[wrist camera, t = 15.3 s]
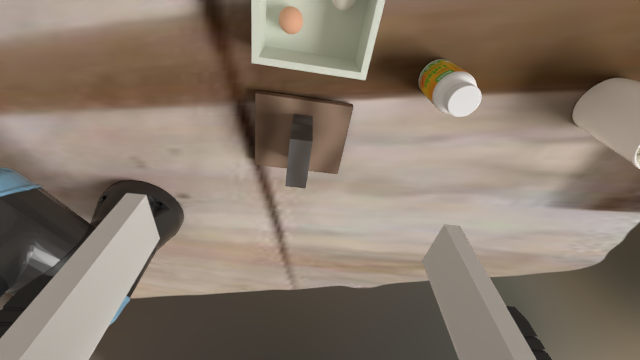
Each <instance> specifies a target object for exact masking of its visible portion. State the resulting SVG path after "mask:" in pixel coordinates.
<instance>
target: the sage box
mask: <svg viewBox="0 0 640 360" xmlns="http://www.w3.org/2000/svg"><path fill="white" fill-rule="evenodd" d="M384 3H385V0H356V1H355V3H354V5H353V6H352V7H351V8H350V9H348V10H344V11H343V10H339V9H337V8H336V7H335V6H334V5H333V2H332V0H251V12H252V63H255V64H262V65H268V66H275V67H281V68H288V69H295V70H301V71H308V72H314V73H321V74H327V75H334V76H341V77H347V78H354V79H360V80H366V76H367V72H368V68H369V64H370V60H371V56H372V51H373V47H374V43H375V39H376V35H377V31H378V27H379V23H380V19H381V15H382V11H383V7H384ZM288 6H292V7H295V8H297V9H298V10H299V11H300V12H301V14H302V17H303V25H302V28H301V29H300V31H299V32H297V33H296V34H287V33H285V32H284V31H283V30H282V29H281V27H280V24H279V15H280V13H281V11H282V10H283V9H284V8H285V7H288Z"/></svg>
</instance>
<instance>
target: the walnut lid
mask: <svg viewBox="0 0 640 360" xmlns="http://www.w3.org/2000/svg"><path fill="white" fill-rule="evenodd" d="M352 111H353V104H348V103H341V102H334V101H327V100H320V99H313V98H306V97H299V96H292V95H285V94H278V93H271V92H264V91H256V93H255V165H262V166H271V167H280V168H287V175H286V186H290V187H299V188H306V181H307V175H308V171H314V172H323V173H332V174H338V170H339V166H340V161H341V157H342V153H343V149H344V144H345V140H346V136H347V132H348V127H349V123H350V119H351V115H352Z"/></svg>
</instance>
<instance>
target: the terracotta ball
mask: <svg viewBox="0 0 640 360" xmlns="http://www.w3.org/2000/svg"><path fill="white" fill-rule="evenodd" d="M279 24H280V27H281V29H282V30H283V31H284V32H285V33H287V34H296V33H297V32H299V31H300V29H301V28H302V25H303V17H302V14H301V12H300V11H299V10H298V9H297V8H295V7H292V6H288V7H285V8H284V9H283V10H282V11H281V13H280V15H279Z"/></svg>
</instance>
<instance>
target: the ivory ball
mask: <svg viewBox="0 0 640 360" xmlns="http://www.w3.org/2000/svg"><path fill="white" fill-rule="evenodd" d="M355 1H356V0H332V2H333V5H334V6H335V7H336V8H337V9H339V10H343V11H344V10H348V9H350V8H351V7H352V6H353V5H354V3H355Z"/></svg>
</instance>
